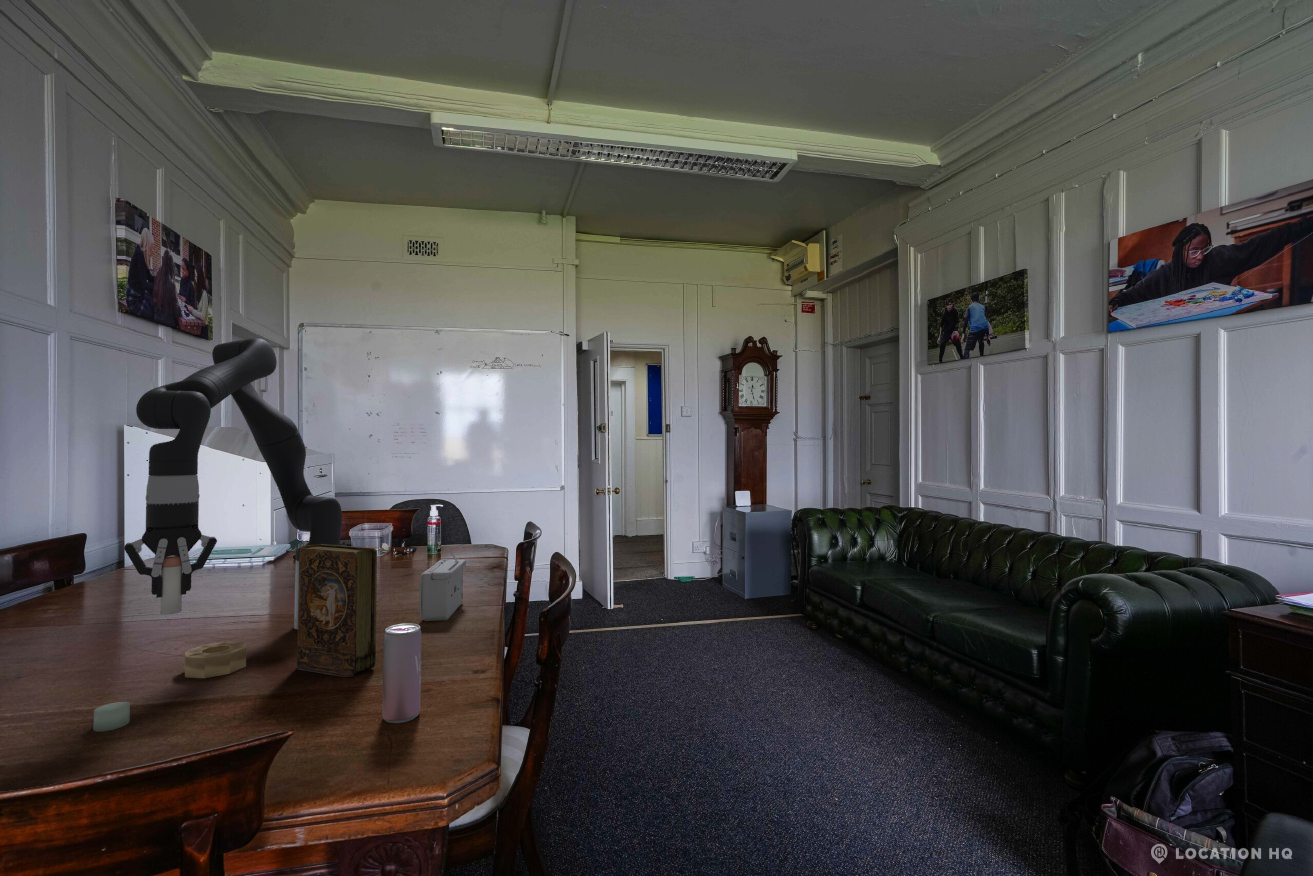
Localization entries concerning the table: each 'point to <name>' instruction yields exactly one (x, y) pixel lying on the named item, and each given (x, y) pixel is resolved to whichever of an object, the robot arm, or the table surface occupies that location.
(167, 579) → the grey cylinder
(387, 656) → the beverage can
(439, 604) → the stereo radio cassette player
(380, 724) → the table surface
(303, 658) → the book
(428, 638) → the table surface
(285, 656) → the table surface
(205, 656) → the bead
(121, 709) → the bead
